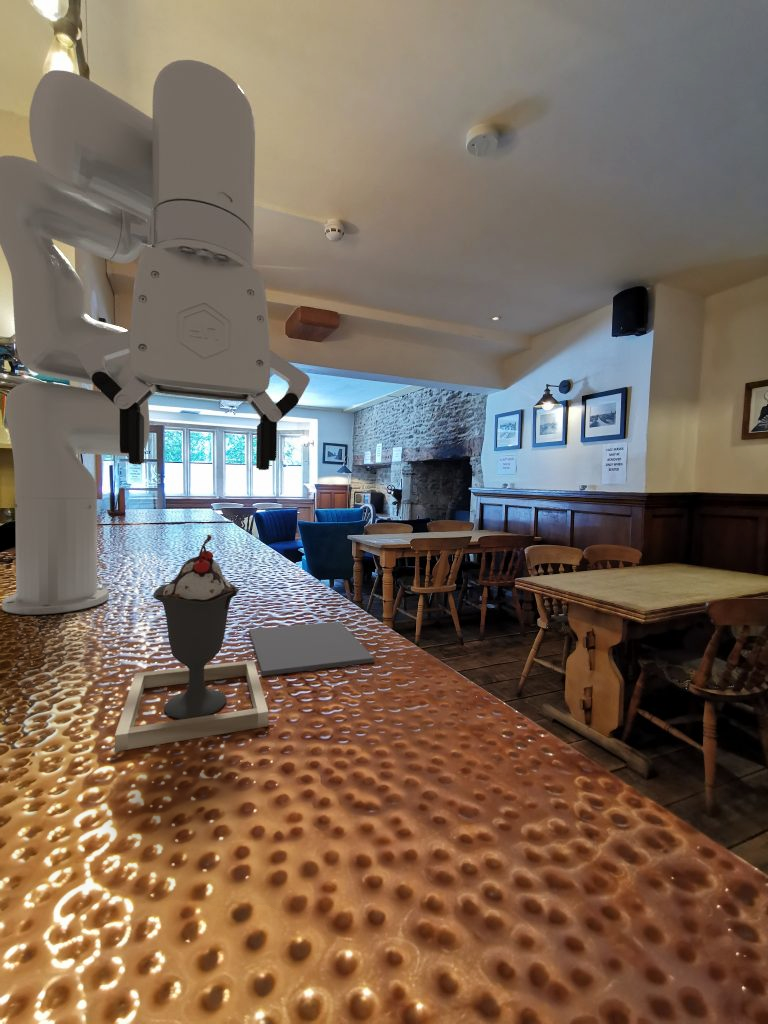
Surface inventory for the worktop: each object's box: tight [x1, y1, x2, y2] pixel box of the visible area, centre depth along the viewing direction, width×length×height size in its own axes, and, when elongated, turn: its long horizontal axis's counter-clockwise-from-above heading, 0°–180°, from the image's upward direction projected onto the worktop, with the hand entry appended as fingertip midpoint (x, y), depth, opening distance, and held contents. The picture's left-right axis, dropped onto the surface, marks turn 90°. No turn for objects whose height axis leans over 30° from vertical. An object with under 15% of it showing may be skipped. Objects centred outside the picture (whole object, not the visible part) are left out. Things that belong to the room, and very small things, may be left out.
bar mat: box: [248, 621, 375, 677], centre depth 52 cm, size 13×12×1 cm
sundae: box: [152, 533, 240, 720], centre depth 38 cm, size 7×7×15 cm
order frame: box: [114, 659, 269, 753], centre depth 38 cm, size 11×11×1 cm
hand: (202, 466), depth 37 cm, fingers open, 9 cm apart
